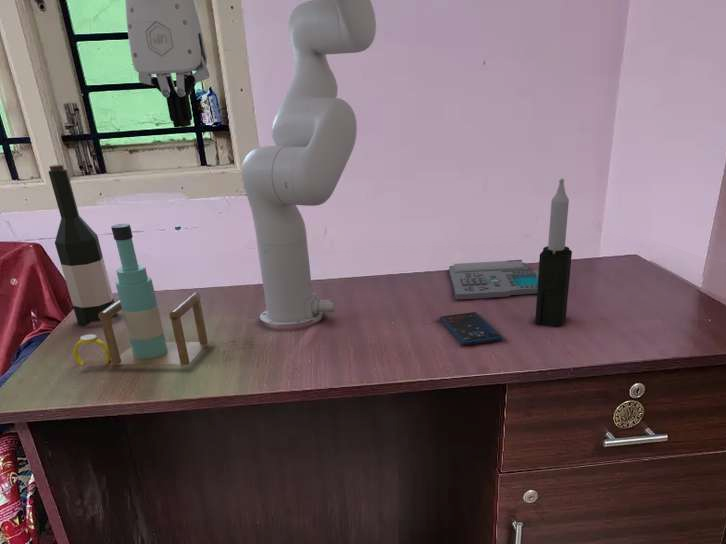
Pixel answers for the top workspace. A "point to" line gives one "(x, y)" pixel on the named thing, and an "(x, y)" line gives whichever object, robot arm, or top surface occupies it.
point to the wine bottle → (79, 254)
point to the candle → (554, 266)
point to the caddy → (176, 351)
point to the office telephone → (493, 279)
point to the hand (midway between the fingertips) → (182, 126)
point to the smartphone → (470, 328)
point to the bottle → (138, 299)
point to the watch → (90, 339)
